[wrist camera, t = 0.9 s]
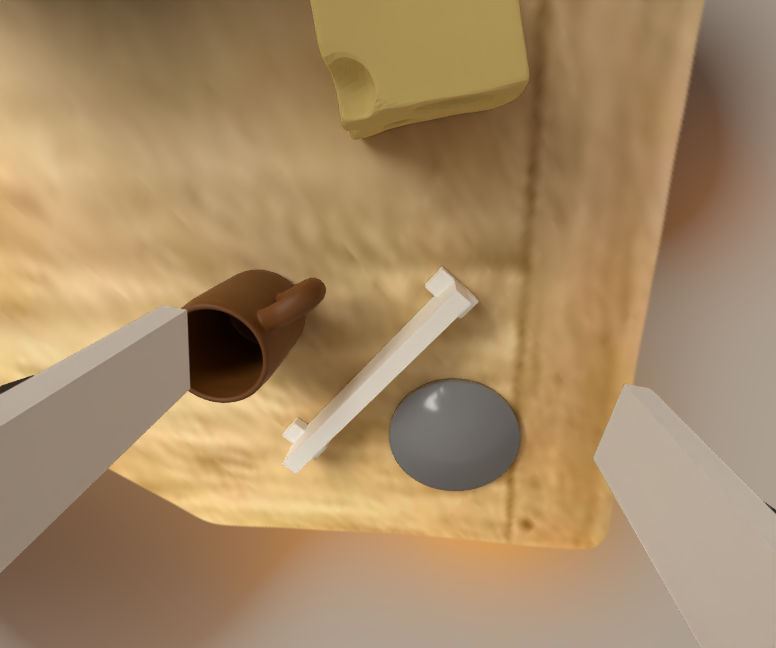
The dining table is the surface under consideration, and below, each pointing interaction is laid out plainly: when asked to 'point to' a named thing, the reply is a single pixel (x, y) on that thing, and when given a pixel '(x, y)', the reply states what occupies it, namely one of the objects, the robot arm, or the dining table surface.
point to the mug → (245, 332)
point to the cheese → (420, 58)
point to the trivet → (454, 434)
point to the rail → (380, 369)
